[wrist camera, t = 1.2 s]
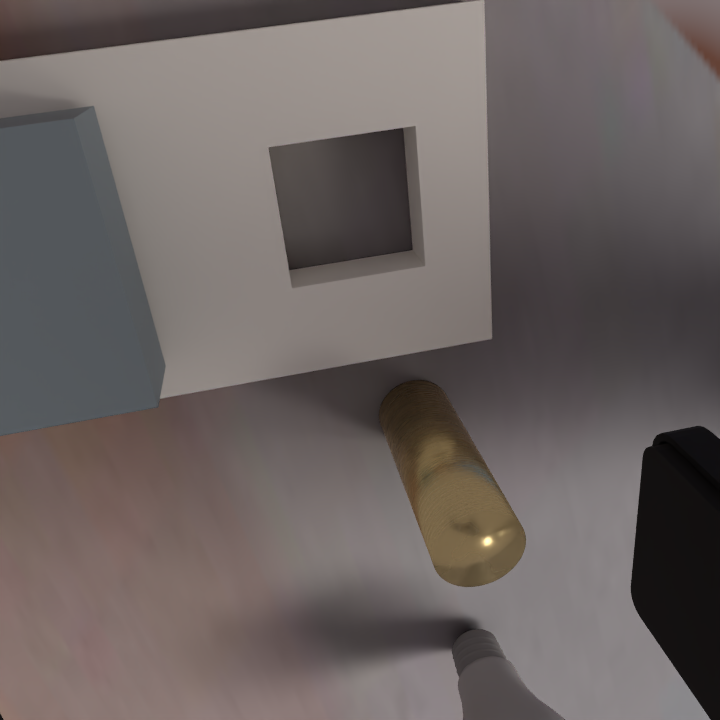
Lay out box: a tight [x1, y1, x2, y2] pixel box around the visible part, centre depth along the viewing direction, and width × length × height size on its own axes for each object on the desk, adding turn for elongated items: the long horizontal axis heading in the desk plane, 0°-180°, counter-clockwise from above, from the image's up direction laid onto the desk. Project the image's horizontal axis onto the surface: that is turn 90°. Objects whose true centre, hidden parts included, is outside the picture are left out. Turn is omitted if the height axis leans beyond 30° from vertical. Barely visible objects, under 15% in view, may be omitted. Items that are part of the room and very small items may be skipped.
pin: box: [379, 380, 526, 587], centre depth 26 cm, size 3×3×9 cm
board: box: [0, 0, 492, 399], centre depth 24 cm, size 24×12×2 cm, turn 97°
